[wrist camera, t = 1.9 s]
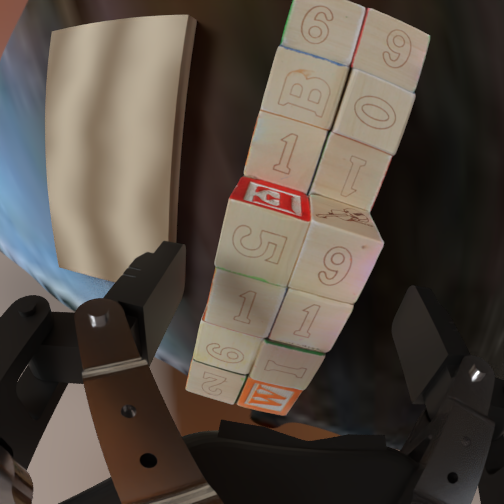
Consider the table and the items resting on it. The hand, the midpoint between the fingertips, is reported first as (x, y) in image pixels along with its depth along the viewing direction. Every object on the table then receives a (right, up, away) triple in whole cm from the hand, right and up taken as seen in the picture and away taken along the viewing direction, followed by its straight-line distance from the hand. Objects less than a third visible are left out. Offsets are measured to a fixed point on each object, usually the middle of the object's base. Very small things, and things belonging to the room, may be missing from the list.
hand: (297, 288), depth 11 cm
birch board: (-13, +9, +13) cm, 20 cm away
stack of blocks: (+2, +7, +12) cm, 14 cm away
